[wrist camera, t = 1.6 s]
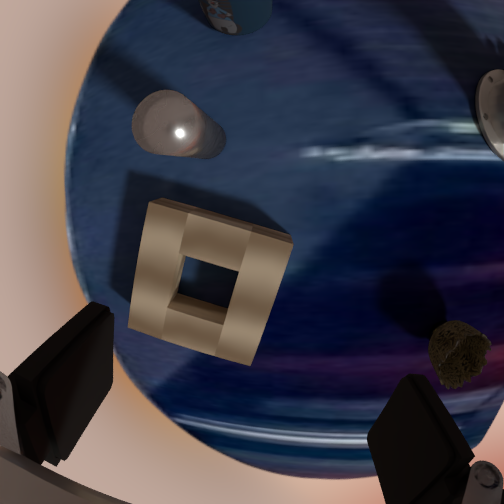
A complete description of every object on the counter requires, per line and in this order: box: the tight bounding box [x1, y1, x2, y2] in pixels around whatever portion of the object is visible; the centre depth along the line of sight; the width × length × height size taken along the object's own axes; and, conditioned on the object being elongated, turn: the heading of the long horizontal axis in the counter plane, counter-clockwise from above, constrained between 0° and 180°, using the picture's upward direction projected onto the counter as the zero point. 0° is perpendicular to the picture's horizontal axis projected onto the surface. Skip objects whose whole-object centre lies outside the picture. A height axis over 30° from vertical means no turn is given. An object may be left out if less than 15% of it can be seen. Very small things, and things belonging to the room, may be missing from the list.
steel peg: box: [132, 90, 226, 159], centre depth 24 cm, size 4×4×14 cm
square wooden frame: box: [128, 198, 293, 366], centre depth 32 cm, size 14×14×4 cm
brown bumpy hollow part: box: [428, 320, 491, 389], centre depth 31 cm, size 8×7×8 cm
